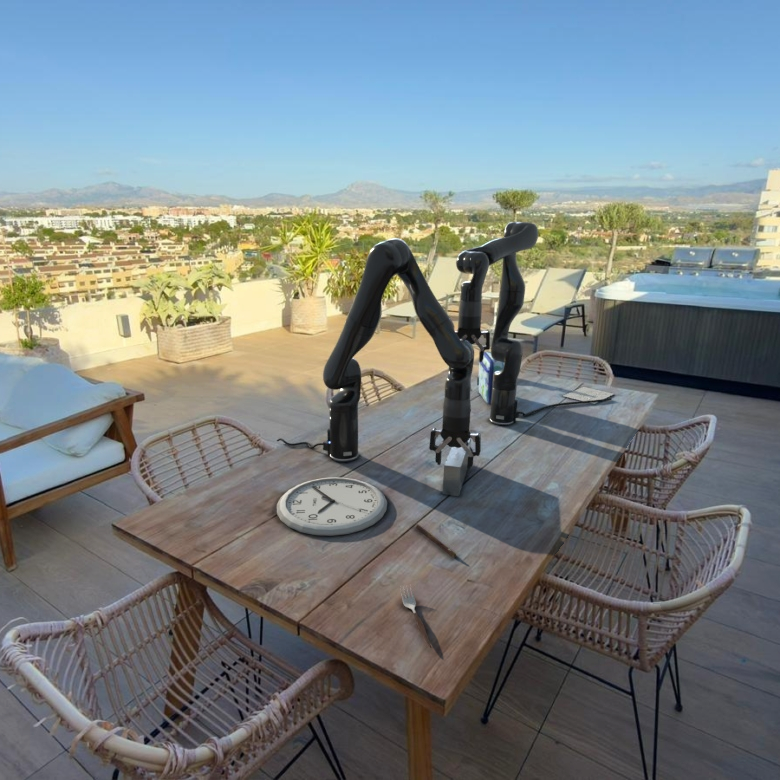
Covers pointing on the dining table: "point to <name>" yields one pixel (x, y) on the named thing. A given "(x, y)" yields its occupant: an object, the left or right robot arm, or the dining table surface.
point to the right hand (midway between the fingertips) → (467, 361)
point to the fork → (411, 605)
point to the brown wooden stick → (436, 541)
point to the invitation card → (588, 394)
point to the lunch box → (487, 375)
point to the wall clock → (331, 506)
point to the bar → (455, 471)
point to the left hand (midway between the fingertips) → (454, 465)
